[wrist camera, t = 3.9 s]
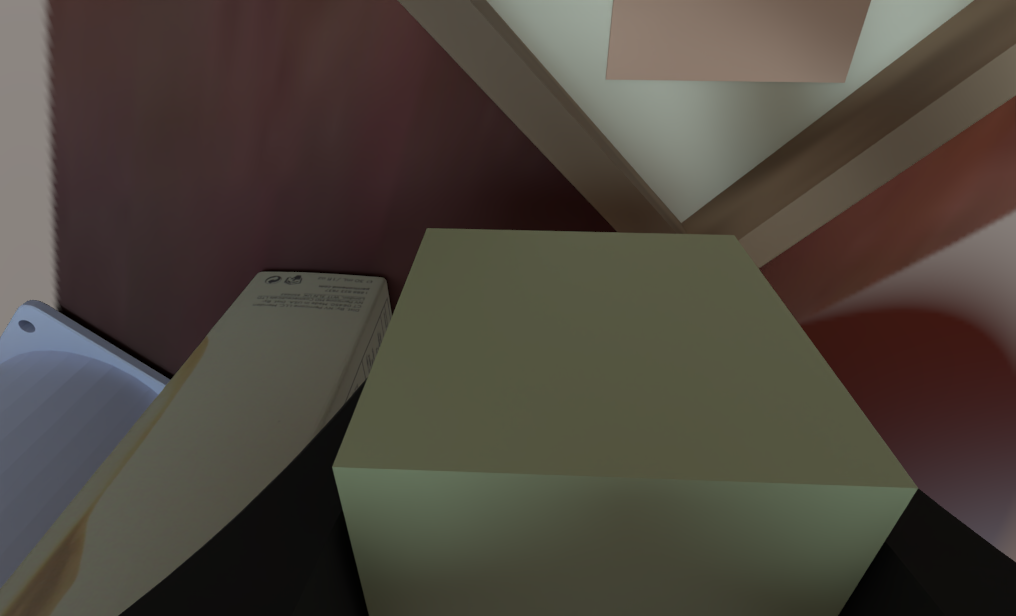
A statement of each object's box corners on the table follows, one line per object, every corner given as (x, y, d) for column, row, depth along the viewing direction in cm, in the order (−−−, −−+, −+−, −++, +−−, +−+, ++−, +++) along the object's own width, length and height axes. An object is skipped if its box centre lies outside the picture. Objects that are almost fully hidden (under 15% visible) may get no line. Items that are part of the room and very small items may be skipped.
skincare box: (256, 266, 17) (-143, 707, 7) (390, 272, 17) (184, 727, 7) (293, 412, 21) (60, 851, 11) (405, 418, 21) (280, 865, 11)
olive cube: (679, 450, 11) (763, 733, 7) (444, 442, 12) (393, 715, 7) (733, 235, 9) (917, 487, 5) (427, 227, 9) (332, 467, 5)
